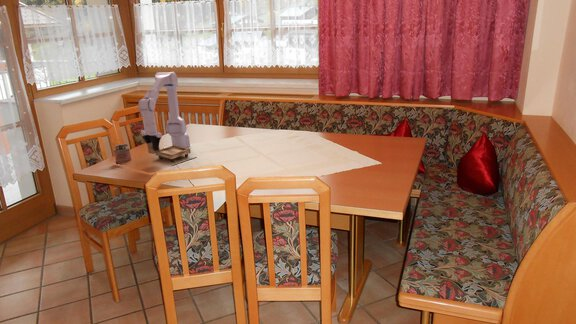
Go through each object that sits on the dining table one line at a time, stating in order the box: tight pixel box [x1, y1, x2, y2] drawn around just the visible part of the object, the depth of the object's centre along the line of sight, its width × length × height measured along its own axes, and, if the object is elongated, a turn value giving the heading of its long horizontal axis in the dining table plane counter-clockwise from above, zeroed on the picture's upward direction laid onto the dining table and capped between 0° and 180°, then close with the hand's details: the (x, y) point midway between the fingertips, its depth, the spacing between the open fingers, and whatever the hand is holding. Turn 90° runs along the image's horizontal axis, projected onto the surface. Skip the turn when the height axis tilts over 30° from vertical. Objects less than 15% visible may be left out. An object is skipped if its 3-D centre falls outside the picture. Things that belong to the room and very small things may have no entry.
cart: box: [155, 145, 192, 162], centre depth 230 cm, size 12×14×4 cm
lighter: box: [113, 143, 132, 165], centre depth 230 cm, size 8×3×10 cm, turn 105°
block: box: [146, 142, 160, 155], centre depth 220 cm, size 4×4×5 cm
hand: (153, 149), depth 221 cm, fingers closed on block, 4 cm apart
